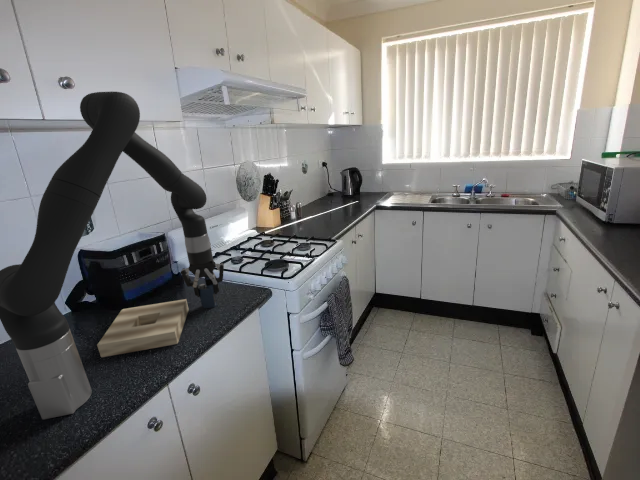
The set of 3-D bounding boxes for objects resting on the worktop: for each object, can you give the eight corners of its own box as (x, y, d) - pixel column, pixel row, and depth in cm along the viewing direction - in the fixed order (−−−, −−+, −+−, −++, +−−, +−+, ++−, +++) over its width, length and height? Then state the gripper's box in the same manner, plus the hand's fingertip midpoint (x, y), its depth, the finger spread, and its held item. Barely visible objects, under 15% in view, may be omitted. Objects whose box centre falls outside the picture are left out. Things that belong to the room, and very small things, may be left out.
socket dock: (177, 343, 96) (174, 331, 94) (101, 357, 92) (97, 345, 91) (188, 309, 114) (186, 299, 113) (125, 319, 111) (122, 309, 110)
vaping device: (216, 307, 114) (210, 275, 110) (201, 308, 114) (194, 276, 111) (218, 303, 117) (212, 272, 113) (203, 304, 117) (197, 273, 113)
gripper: (173, 254, 104) (184, 303, 109) (220, 248, 107) (229, 296, 112) (177, 247, 111) (187, 293, 116) (222, 241, 114) (230, 286, 119)
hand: (207, 294), depth 114 cm, fingers closed on vaping device, 5 cm apart
